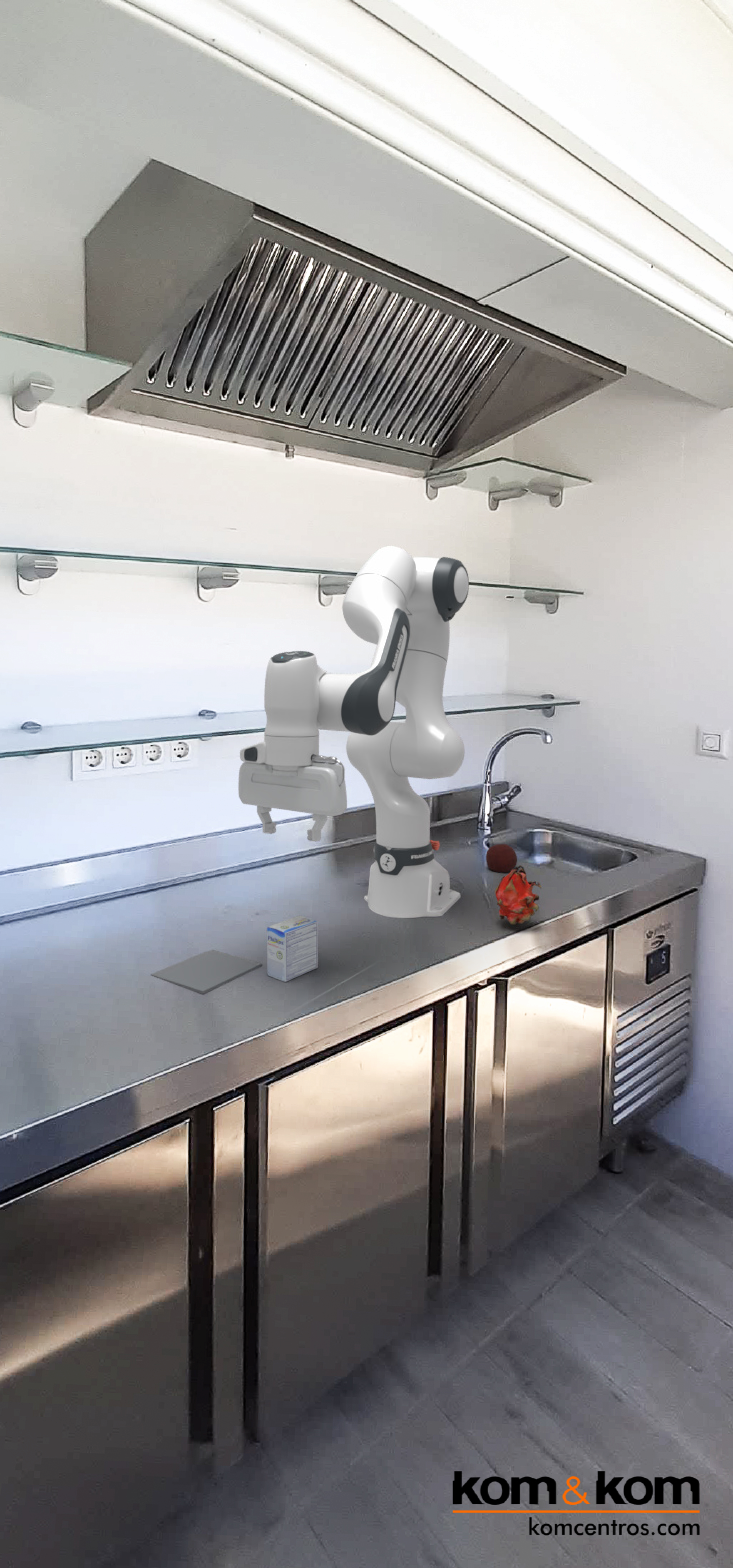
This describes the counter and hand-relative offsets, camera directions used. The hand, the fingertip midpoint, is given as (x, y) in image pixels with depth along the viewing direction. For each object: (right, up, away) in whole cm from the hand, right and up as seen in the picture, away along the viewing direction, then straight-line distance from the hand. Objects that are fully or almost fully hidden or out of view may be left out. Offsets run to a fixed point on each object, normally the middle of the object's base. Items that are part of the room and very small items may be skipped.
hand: (291, 836), depth 135 cm
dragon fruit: (+42, -19, +28) cm, 54 cm away
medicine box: (0, -23, +4) cm, 24 cm away
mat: (-14, -23, +4) cm, 27 cm away
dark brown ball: (+45, -13, +66) cm, 81 cm away
